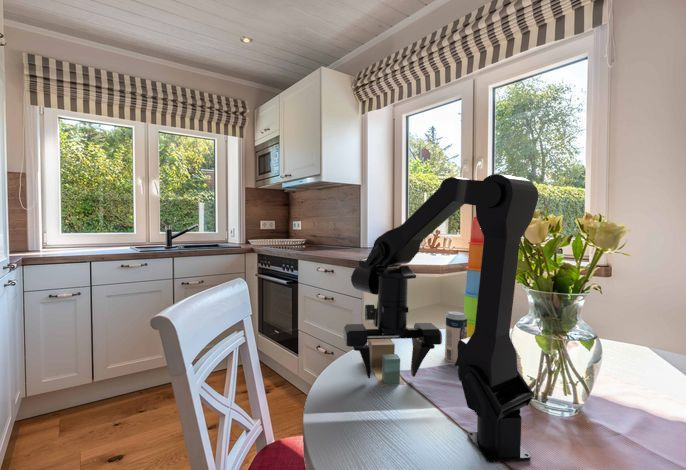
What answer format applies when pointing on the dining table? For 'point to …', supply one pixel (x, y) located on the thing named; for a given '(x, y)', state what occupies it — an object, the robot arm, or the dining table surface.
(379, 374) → the green toy block
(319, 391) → the dining table surface
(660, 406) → the dining table surface
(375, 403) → the dining table surface
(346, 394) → the dining table surface
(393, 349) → the walnut cube
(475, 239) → the stacking cups
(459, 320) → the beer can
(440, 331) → the robot arm
